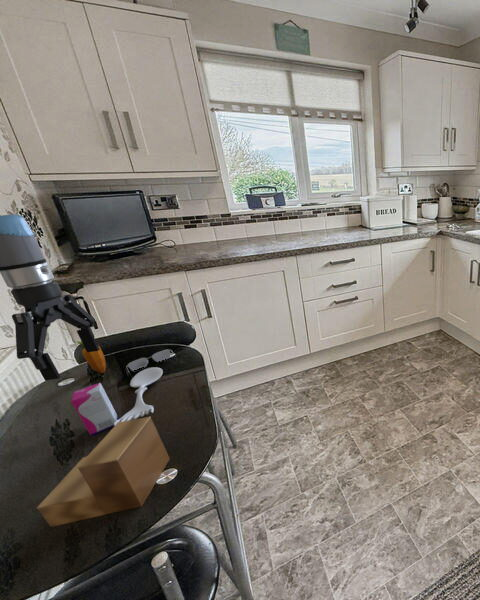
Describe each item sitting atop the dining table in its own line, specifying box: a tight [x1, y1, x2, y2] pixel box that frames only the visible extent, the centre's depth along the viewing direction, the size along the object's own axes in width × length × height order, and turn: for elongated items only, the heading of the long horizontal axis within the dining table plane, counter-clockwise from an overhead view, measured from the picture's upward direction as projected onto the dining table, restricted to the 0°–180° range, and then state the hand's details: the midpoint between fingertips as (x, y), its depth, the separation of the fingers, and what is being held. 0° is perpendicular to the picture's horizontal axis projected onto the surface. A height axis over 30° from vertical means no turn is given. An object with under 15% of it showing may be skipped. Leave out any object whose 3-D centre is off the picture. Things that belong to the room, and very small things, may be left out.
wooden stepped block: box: [36, 416, 171, 528], centre depth 67 cm, size 16×12×12 cm
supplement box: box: [70, 382, 119, 437], centre depth 88 cm, size 6×6×12 cm
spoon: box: [114, 366, 164, 426], centre depth 100 cm, size 9×32×3 cm, turn 32°
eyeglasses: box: [125, 349, 179, 379], centre depth 117 cm, size 14×8×4 cm, turn 136°
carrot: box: [76, 340, 107, 375], centre depth 115 cm, size 5×5×15 cm
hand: (75, 364), depth 82 cm, fingers open, 13 cm apart
